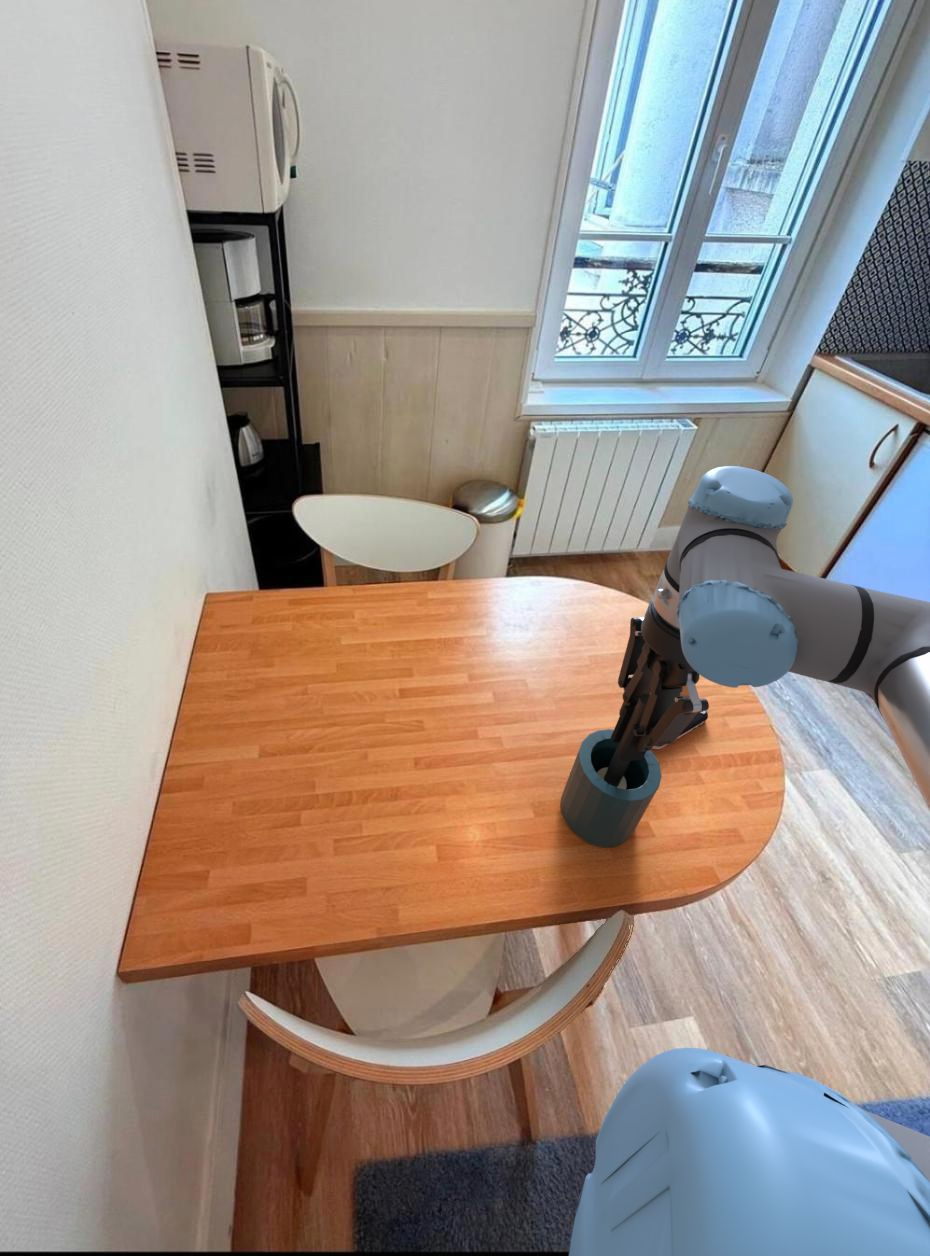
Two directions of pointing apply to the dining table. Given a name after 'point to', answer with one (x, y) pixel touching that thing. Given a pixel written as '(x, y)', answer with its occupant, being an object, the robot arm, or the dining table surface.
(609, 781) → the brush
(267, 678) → the dining table surface
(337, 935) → the dining table surface
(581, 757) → the jar
